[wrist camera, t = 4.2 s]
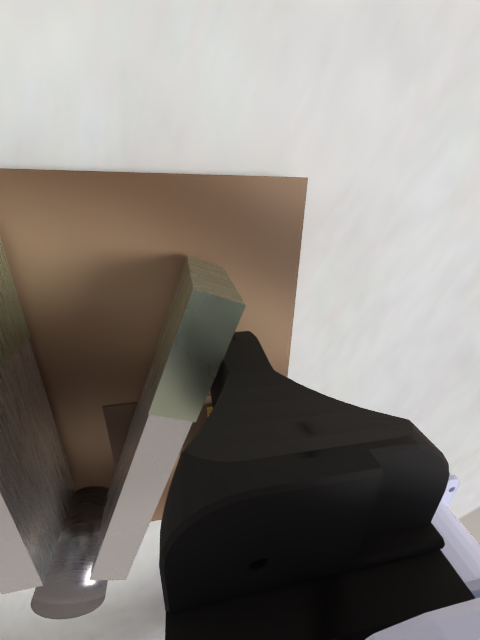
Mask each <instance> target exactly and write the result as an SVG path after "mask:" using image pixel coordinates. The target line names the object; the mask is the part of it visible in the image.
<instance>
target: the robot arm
mask: <svg viewBox="0 0 480 640" xmlns="http://www.w3.org/2000/svg"><path fill="white" fill-rule="evenodd" d="M210 393H211V400H212V407H213V410H212V412H211V413H210V415H209V416H208V418H207V420H206V421H205V423H204V424H203V426H202V427H201V429H200V430H199V432H198V433H197V434H196V435H195V437H194V438H193V439H192V440H191V442H190V443H189V444H188V445H187V447H186V448H185V449H184V450H183V451H182V453H181V455H180V458H179V461H178V463H177V466H176V469H175V472H174V475H173V478H172V481H171V484H170V487H169V491H168V494H167V498H166V502H165V506H164V511H163V516H162V522H161V529H160V561H159V568H160V575H161V582H162V589H163V596H164V603H165V610H166V629H165V640H480V545H479V543H478V542H477V541H476V540H475V539H474V538H473V536H471V534H470V533H469V532H468V531H467V529H466V528H465V527H464V526H463V525H462V524H461V522H460V521H459V520H458V519H457V518H456V516H455V515H454V514H453V513H452V512H451V510H450V509H449V508H448V507H449V505H450V503H451V501H452V499H453V496H454V494H455V492H456V490H457V488H458V486H459V484H460V480H459V479H458V478H457V477H456V476H455V475H450V476H449V465H448V462H447V460H446V458H445V457H444V455H443V453H442V452H441V451H440V450H439V449H438V448H437V447H436V446H435V445H434V444H433V443H432V442H431V441H430V440H429V439H428V438H427V437H426V436H425V435H424V434H423V433H422V432H421V431H420V430H419V429H418V428H417V427H416V426H415V425H414V424H413V423H412V422H411V421H410V420H407V419H403V418H399V417H395V416H391V415H387V414H383V413H379V412H375V411H371V410H367V409H364V408H361V407H357V406H354V405H351V404H348V403H345V402H342V401H339V400H336V399H334V398H331V397H328V396H326V395H323V394H321V393H318V392H316V391H314V390H311V389H309V388H307V387H305V386H302V385H300V384H298V383H296V382H294V381H293V380H291V379H289V378H287V377H285V376H283V375H281V374H280V373H278V372H276V371H275V370H274V369H273V367H272V366H271V364H270V362H269V360H268V358H267V356H266V354H265V352H264V350H263V348H262V346H261V344H260V342H259V341H258V339H257V337H256V336H255V335H254V334H253V333H251V332H250V331H241V332H234V335H233V337H232V339H231V342H230V344H229V346H228V349H227V351H226V353H225V356H224V358H223V360H222V363H221V365H220V367H219V370H218V372H217V374H216V377H215V379H214V381H213V384H212V386H211V388H210Z"/></svg>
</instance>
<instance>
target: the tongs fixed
mask: <svg viewBox="0 0 480 640" xmlns="http://www.w3.org/2000/svg"><path fill="white" fill-rule="evenodd" d="M29 338H30V334H29V331H28V327H27V324H26V321H25V317H24V314H23V311H22V307H21V304H20V301H19V298H18V294H17V291H16V288H15V284H14V281H13V278H12V274H11V271H10V268H9V265H8V261H7V258H6V255H5V251H4V248H3V245H2V241H1V238H0V592H1V594H6V593H11V592H15V591H20V590H25V589H30V588H34V587H36V589H35V592H34V595H33V598H32V601H31V608H32V610H33V611H34V612H35V613H36V614H38V615H40V616H42V617H45V618H50V619H69V618H75V617H79V616H82V615H85V614H87V613H90V612H92V611H93V610H95V609H96V608H98V607H99V606H100V605H101V604H102V602H103V601H104V598H105V594H106V588H107V582H108V580H89V579H90V574H91V569H92V565H93V560H94V555H95V551H96V546H97V541H98V537H99V532H100V527H101V523H102V518H103V513H104V509H105V504H106V499H107V495H108V490H109V488H105V487H100V486H91V487H85V488H82V489H79V490H77V491H75V492H74V490H75V487H74V483H73V480H72V477H71V474H70V470H69V467H68V464H67V461H66V457H65V454H64V451H63V447H62V444H61V441H60V438H59V434H58V431H57V428H56V425H55V421H54V418H53V415H52V411H51V408H50V405H49V402H48V398H47V395H46V392H45V389H44V385H43V382H42V379H41V375H40V372H39V369H38V366H37V362H36V359H35V356H34V353H33V349H32V346H31V343H30V339H29Z"/></svg>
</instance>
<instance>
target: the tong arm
mask: <svg viewBox="0 0 480 640" xmlns="http://www.w3.org/2000/svg"><path fill="white" fill-rule="evenodd" d="M245 307H246V304H245V303H244V301H243V299H242V298H241V296H240V294H239V293H238V291H237V289H236V288H235V286H234V284H233V283H232V281H231V279H230V278H229V276H228V274H227V273H226V271H225V269H224V268H223V267H221V266H218V265H215V264H212V263H209V262H207V261H204V260H201V259H198V258H195V257H193V256H190V255H187V256H186V259H185V262H184V264H183V267H182V270H181V273H180V276H179V279H178V282H177V285H176V288H175V291H174V294H173V297H172V300H171V303H170V306H169V309H168V312H167V315H166V317H165V320H164V323H163V326H162V329H161V332H160V335H159V338H158V341H157V344H156V347H155V354H154V357H153V360H152V363H151V366H150V369H149V372H148V375H147V378H146V381H145V383H144V386H143V389H142V392H141V395H140V398H139V401H138V404H137V407H136V410H135V413H134V416H133V419H132V422H131V425H130V427H129V430H128V433H127V436H126V439H125V442H124V445H123V448H122V451H121V454H120V457H119V460H118V463H117V466H116V468H115V471H114V474H113V477H112V480H111V483H110V486H109V490H108V495H107V499H106V504H105V509H104V513H103V518H102V523H101V527H100V532H99V537H98V541H97V546H96V551H95V555H94V560H93V565H92V569H91V574H90V579H89V580H126V578H127V575H128V573H129V571H130V568H131V566H132V563H133V561H134V559H135V556H136V554H137V552H138V549H139V547H140V545H141V542H142V540H143V538H144V535H145V533H146V531H147V528H148V526H149V524H150V521H151V519H152V517H153V514H154V512H155V509H156V507H157V505H158V502H159V500H160V498H161V495H162V493H163V491H164V488H165V486H166V484H167V481H168V479H169V477H170V474H171V472H172V470H173V467H174V465H175V463H176V460H177V458H178V455H179V453H180V451H181V448H182V446H183V444H184V441H185V439H186V437H187V434H188V432H189V430H190V427H191V425H192V423H193V422H196V421H197V418H198V416H199V414H200V411H201V409H202V407H203V404H204V402H205V400H206V397H207V395H208V393H209V391H210V388H211V386H212V384H213V381H214V379H215V377H216V374H217V372H218V370H219V367H220V365H221V363H222V360H223V358H224V356H225V353H226V351H227V349H228V346H229V344H230V342H231V339H232V337H233V335H234V332H235V330H236V328H237V325H238V323H239V321H240V318H241V316H242V314H243V312H244V309H245Z"/></svg>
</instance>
